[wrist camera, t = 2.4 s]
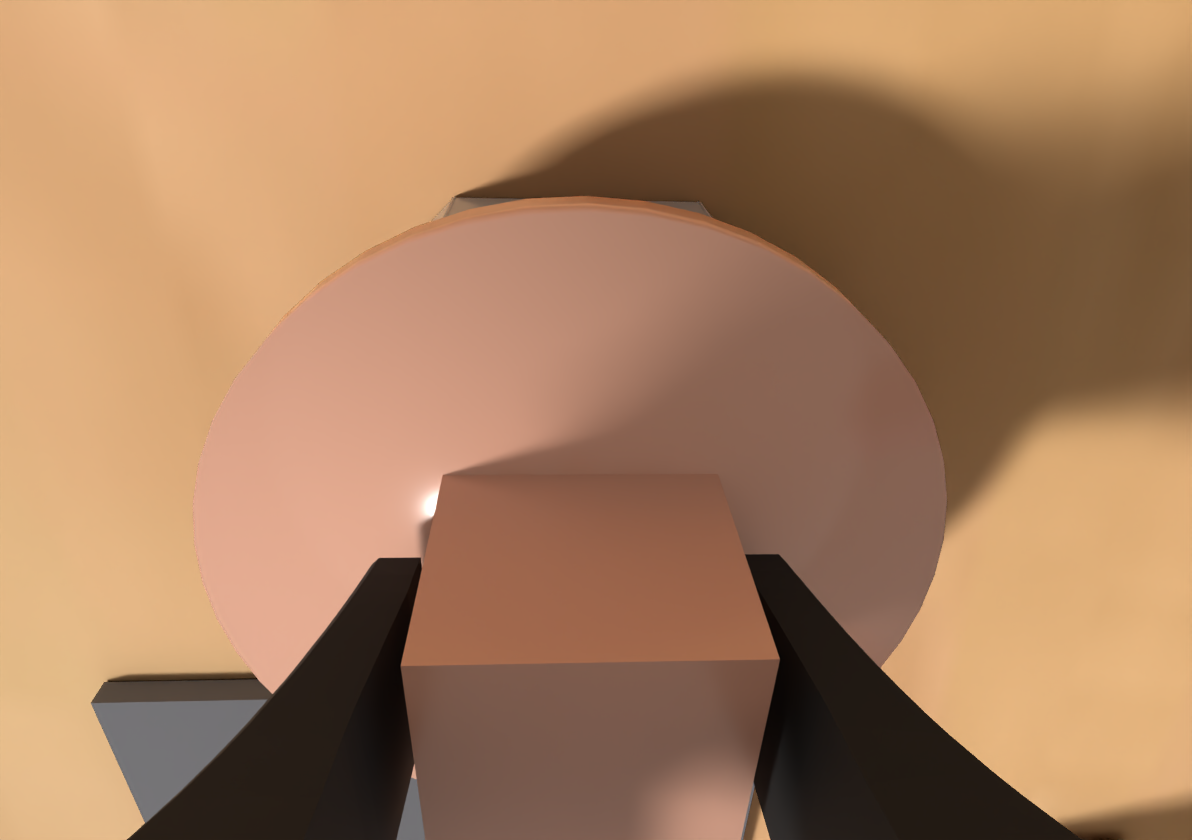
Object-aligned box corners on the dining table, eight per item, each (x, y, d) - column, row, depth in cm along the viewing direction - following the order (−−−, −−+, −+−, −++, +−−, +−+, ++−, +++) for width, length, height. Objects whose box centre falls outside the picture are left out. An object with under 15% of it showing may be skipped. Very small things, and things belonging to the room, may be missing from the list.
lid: (1018, 203, 10) (1290, 334, 6) (847, 758, 16) (937, 994, 12) (120, 187, 9) (-160, 323, 6) (284, 772, 15) (199, 1028, 12)
